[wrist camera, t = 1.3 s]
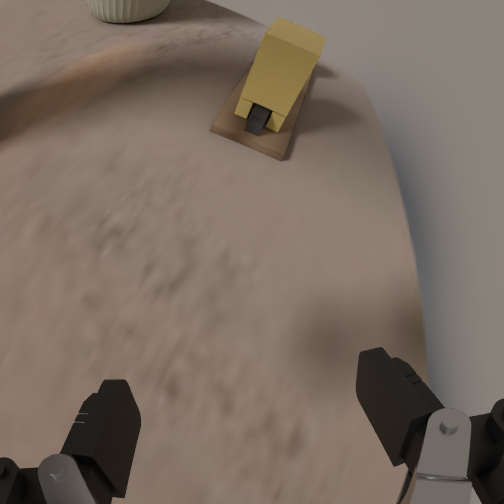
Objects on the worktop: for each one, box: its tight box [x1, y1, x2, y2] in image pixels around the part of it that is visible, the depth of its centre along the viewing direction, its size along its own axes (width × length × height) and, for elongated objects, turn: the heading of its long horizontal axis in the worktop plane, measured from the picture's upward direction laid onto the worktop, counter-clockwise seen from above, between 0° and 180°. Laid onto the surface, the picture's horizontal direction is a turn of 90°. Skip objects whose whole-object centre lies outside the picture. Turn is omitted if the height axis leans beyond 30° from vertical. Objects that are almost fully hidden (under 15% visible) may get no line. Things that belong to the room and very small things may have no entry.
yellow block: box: [234, 17, 326, 132], centre depth 27 cm, size 5×5×10 cm
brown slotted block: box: [210, 61, 313, 161], centre depth 33 cm, size 8×20×6 cm, turn 163°
